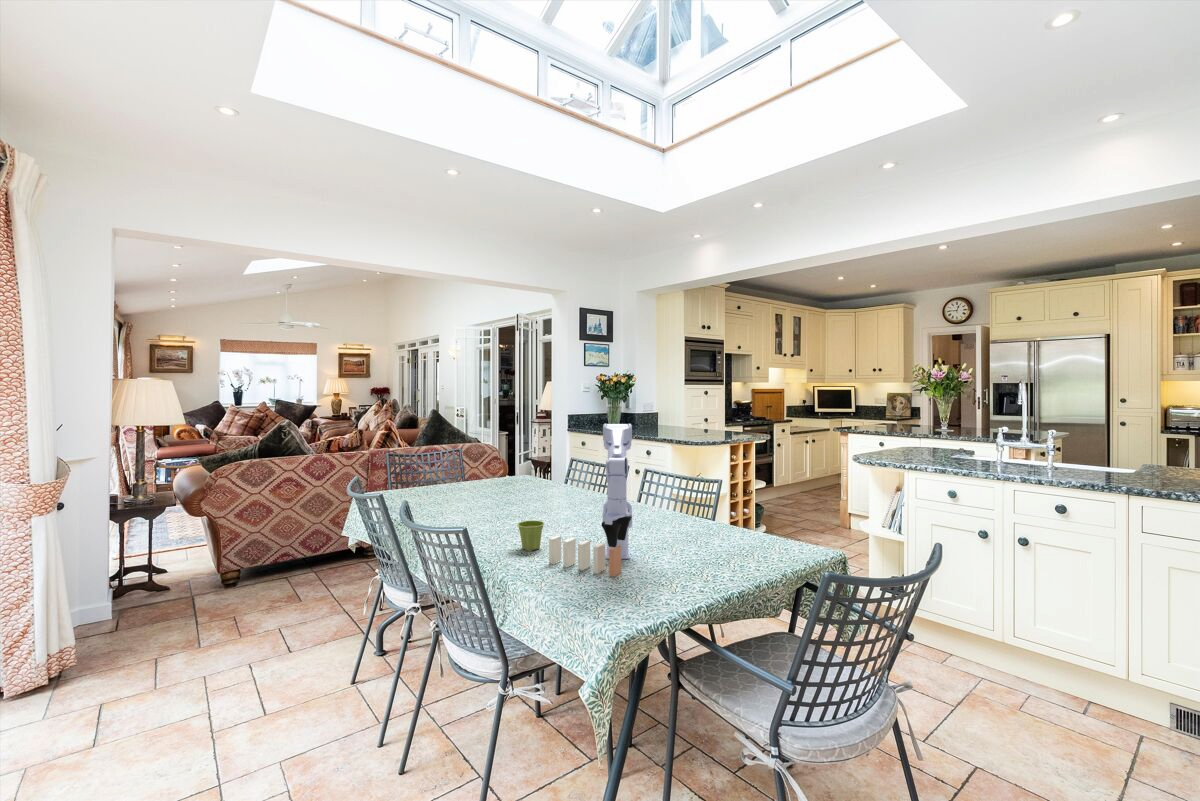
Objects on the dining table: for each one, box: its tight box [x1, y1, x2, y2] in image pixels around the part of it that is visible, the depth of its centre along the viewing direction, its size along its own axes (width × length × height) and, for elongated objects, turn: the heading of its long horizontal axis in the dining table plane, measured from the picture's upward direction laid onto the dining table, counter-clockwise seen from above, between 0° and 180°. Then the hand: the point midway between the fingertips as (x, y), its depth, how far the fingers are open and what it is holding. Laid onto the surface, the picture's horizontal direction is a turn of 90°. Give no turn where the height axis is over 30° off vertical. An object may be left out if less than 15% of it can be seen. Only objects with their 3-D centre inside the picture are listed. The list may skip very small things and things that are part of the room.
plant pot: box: [517, 520, 545, 551], centre depth 187 cm, size 9×9×9 cm
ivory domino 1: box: [548, 535, 562, 565], centre depth 172 cm, size 2×4×8 cm, turn 149°
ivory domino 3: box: [577, 540, 591, 571], centre depth 167 cm, size 2×4×8 cm, turn 149°
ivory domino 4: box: [592, 542, 606, 574], centre depth 164 cm, size 2×4×8 cm, turn 149°
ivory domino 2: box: [562, 537, 577, 568], centre depth 169 cm, size 2×4×8 cm, turn 149°
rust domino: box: [608, 546, 622, 578], centre depth 161 cm, size 2×4×8 cm, turn 150°
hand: (616, 543), depth 160 cm, fingers open, 7 cm apart
